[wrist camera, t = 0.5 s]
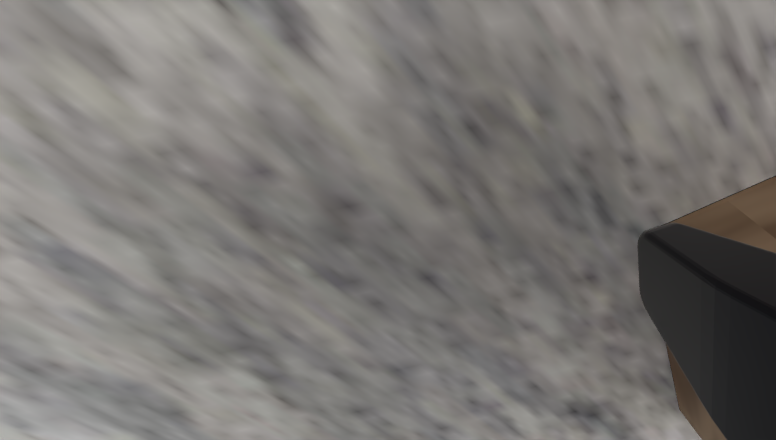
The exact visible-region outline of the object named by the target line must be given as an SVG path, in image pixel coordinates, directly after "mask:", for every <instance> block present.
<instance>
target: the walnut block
mask: <svg viewBox="0 0 776 440" xmlns="http://www.w3.org/2000/svg"><path fill="white" fill-rule="evenodd" d="M670 223H680V224H684V225H687V226H690V227H693V228H697V229H700V230H703V231H706V232H710V233H713V234H716V235H719V236H723V237H726V238H729V239H732V240H736V241H739V242H742V243H745V244H749V245H752V246H755V247H758V248H762V249H765V250H768V251H771V252H775V253H776V176H775V177H773V178H770V179H768V180H766V181H764V182H761V183H759V184H757V185H754V186H752V187H750V188H748V189H745V190H743V191H741V192H738V193H736V194H734V195H732V196H729V197H727V198H725V199H722V200H720V201H718V202H716V203H713V204H711V205H709V206H706V207H704V208H702V209H700V210H697V211H695V212H693V213H690V214H688V215H686V216H684V217H681V218H679V219H677V220H674V221H672V222H670ZM668 224H669V223H668ZM666 346H667V344H666ZM667 351H668V356H669V361H670V366H671V370H672V375H673V380H674V385H675V390H676V395H677V399H678V404H679V409H680V411H681V412H682V413H683V415H684V416H685V417H686V419H687V420H688V421H689V423H690V424H691V425H692V427H693V428H694V429H695V431H696V432H697V433H698V434H699V436H700V437H701V438H702V440H727V439H726V438H725V437H724V435H723V434H722V432H721V431H720V430H719V428H718V427H717V426H716V424H715V423H714V421H713V420H712V419H711V417H710V415H709V414H708V412H707V411H706V409H705V407H704V406H703V404H702V403H701V401H700V400H699V398H698V396H697V394H696V393H695V391H694V389H693V388H692V386H691V384H690V383H689V381H688V379H687V378H686V376H685V374H684V373H683V371H682V369H681V368H680V366H679V364H678V363H677V361H676V359H675V358H674V356H673V354H672V353H671V351H670V349H669V348H668V346H667Z"/></svg>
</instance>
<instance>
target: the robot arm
mask: <svg viewBox="0 0 776 440" xmlns="http://www.w3.org/2000/svg"><path fill="white" fill-rule="evenodd" d="M638 265H639V287H640V294H641V298H642V301H643V304H644V306H645V309H646V310H647V312H648V314H649V316H650V317H651V319H652V321H653V322H654V324H655V326H656V327H657V329H658V331H659V332H660V334H661V336H662V337H663V339H664V341H665V342H666V344H667V346H668V348H669V349H670V351H671V353H672V354H673V356H674V358H675V359H676V361H677V363H678V364H679V366H680V368H681V369H682V371H683V373H684V374H685V376H686V378H687V379H688V381H689V383H690V384H691V386H692V388H693V389H694V391H695V393H696V394H697V396H698V398H699V400H700V401H701V403H702V404H703V406H704V407H705V409H706V411H707V412H708V414H709V415H710V417H711V419H712V420H713V421H714V423H715V424H716V426H717V427H718V428H719V430H720V431H721V432H722V434H723V435H724V437H725V438H726V439H727V440H776V253H775V252H771V251H768V250H765V249H762V248H758V247H755V246H752V245H749V244H745V243H742V242H739V241H736V240H732V239H729V238H726V237H723V236H719V235H716V234H713V233H710V232H706V231H703V230H700V229H697V228H693V227H690V226H687V225H684V224H680V223H669V224H665V225H662V226H659V227H656V228H653V229H649V230H646V231H644V232H643V233H642V234H641V235H640V236H639V239H638Z"/></svg>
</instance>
